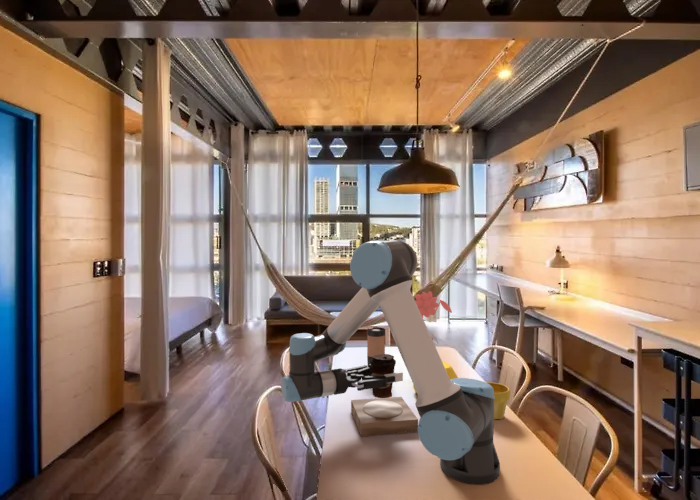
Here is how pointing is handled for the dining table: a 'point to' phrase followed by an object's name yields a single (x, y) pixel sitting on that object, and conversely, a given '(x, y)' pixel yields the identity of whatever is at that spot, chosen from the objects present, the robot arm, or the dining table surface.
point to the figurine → (429, 304)
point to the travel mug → (375, 342)
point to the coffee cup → (382, 373)
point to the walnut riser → (383, 416)
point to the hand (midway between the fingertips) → (395, 372)
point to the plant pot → (500, 399)
